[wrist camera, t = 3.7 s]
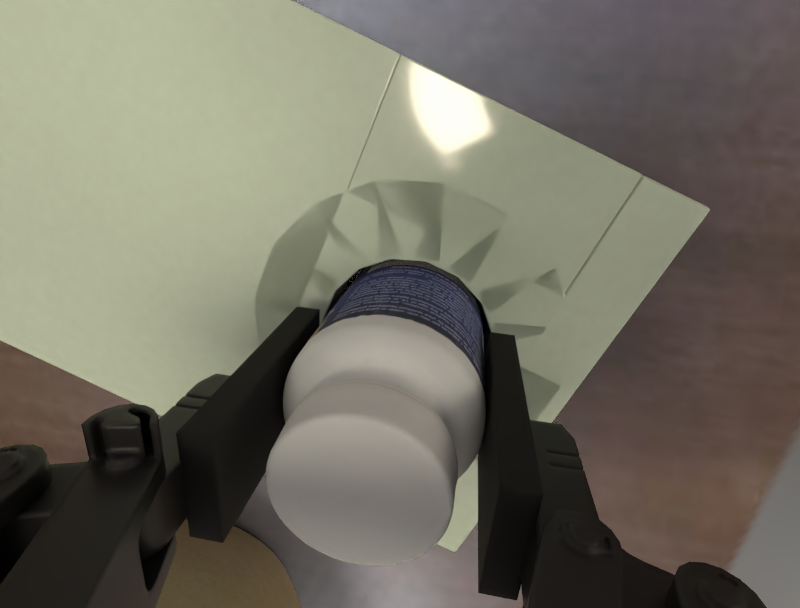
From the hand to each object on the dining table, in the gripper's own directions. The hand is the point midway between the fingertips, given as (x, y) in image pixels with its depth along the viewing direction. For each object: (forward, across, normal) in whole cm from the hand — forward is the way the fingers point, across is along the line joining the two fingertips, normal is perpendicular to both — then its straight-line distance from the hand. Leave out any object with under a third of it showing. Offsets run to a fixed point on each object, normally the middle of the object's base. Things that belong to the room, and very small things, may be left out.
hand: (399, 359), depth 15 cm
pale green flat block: (+4, -5, +2) cm, 6 cm away
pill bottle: (+4, 0, 0) cm, 4 cm away
